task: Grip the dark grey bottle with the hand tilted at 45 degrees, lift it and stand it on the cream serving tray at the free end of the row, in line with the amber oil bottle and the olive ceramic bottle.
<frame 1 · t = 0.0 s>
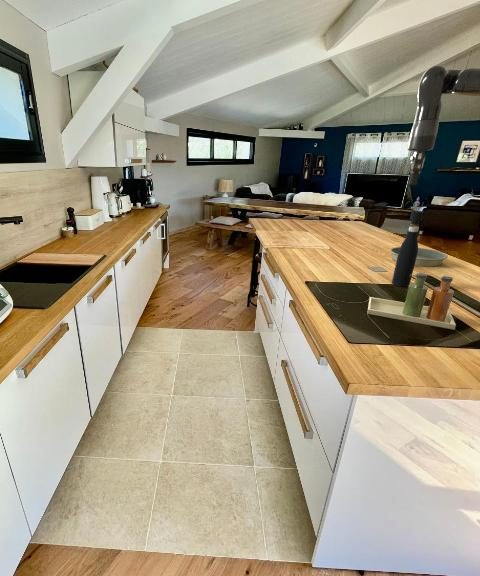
hand: (412, 184, 114), 40 cm above the table, tool pointing down, fingers open, 8 cm apart
cake pan: (415, 261, 163), on the table
amber oil bottle: (435, 318, 101), resting on tray
tray: (407, 315, 104), on the table
olive bottle: (411, 314, 104), resting on tray
dark grey bottle: (400, 284, 131), on the table
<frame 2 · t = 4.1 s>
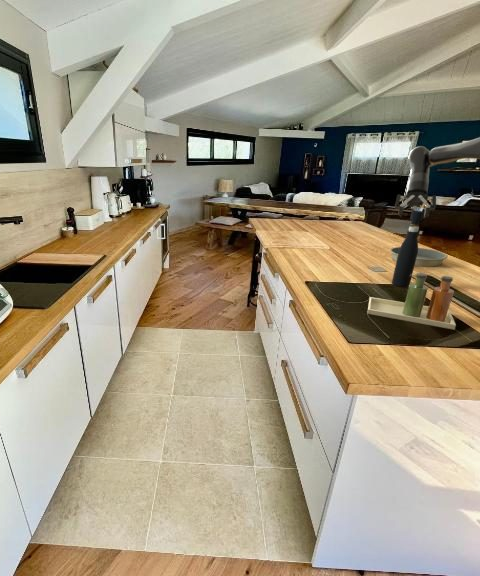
hand: (413, 216, 131), 27 cm above the table, tool tilted 45°, fingers open, 8 cm apart
nothing on the table moved.
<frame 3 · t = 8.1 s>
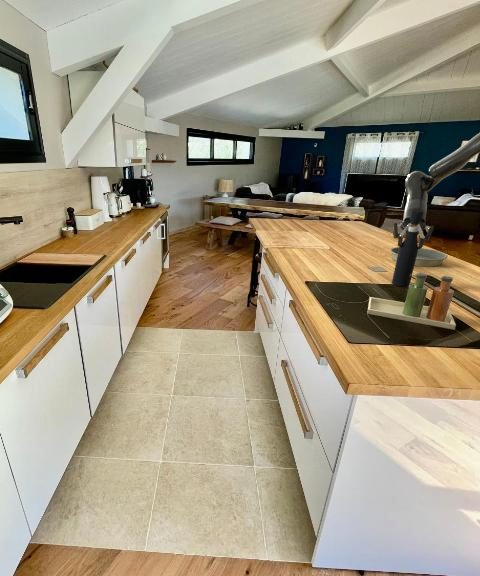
hand: (409, 247, 124), 16 cm above the table, tool tilted 45°, fingers closed on dark grey bottle, 5 cm apart
dark grey bottle: (400, 284, 131), on the table, touching gripper
everything else where it was.
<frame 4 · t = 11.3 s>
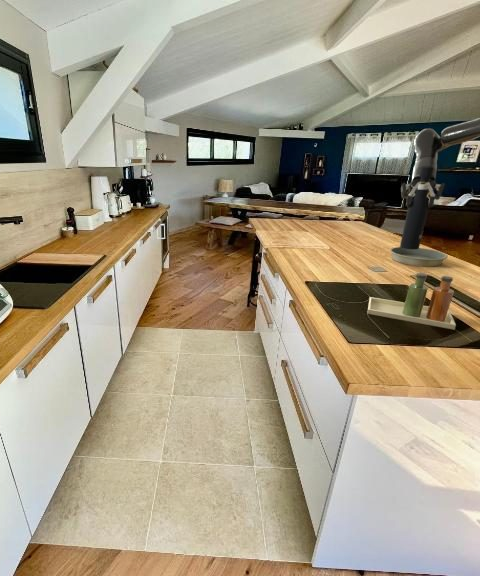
hand: (419, 206, 118), 32 cm above the table, tool tilted 45°, fingers closed on dark grey bottle, 5 cm apart
dark grey bottle: (409, 248, 125), point 16 cm above the table, touching gripper
everything else where it was.
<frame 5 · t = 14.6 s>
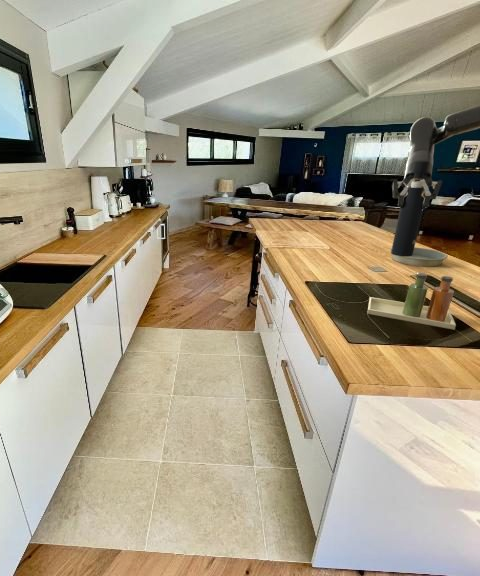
hand: (412, 207, 102), 34 cm above the table, tool tilted 45°, fingers closed on dark grey bottle, 5 cm apart
dark grey bottle: (401, 254, 109), point 17 cm above the table, touching gripper
everything else where it was.
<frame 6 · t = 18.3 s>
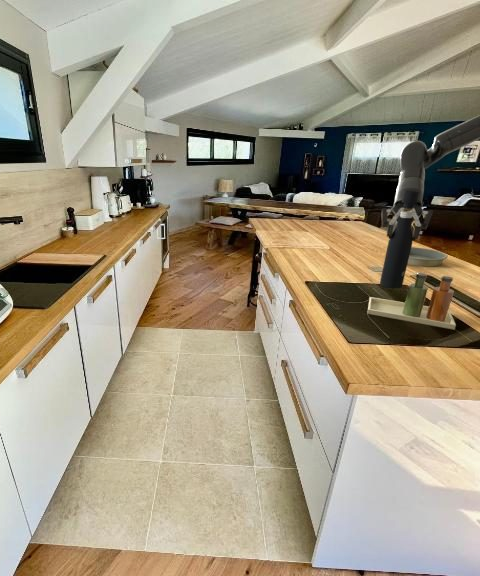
hand: (402, 237, 97), 26 cm above the table, tool tilted 45°, fingers closed on dark grey bottle, 5 cm apart
dark grey bottle: (390, 285, 104), point 9 cm above the table, touching gripper
everything else where it was.
when the fingers open (17 cm above the table, at t = 21.2 s): dark grey bottle stays where it is, resting on tray.
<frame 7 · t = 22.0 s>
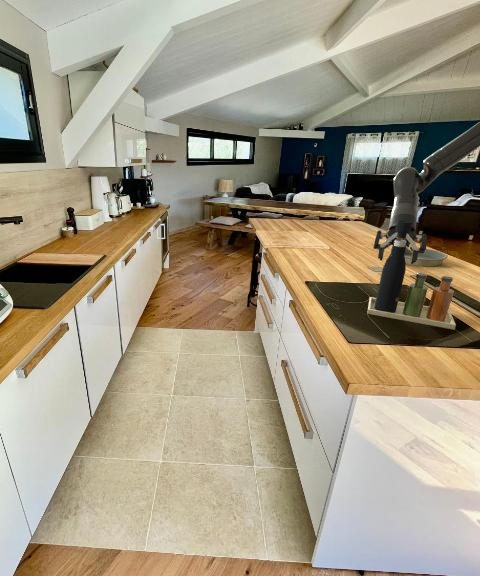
hand: (396, 260, 100), 18 cm above the table, tool tilted 45°, fingers open, 8 cm apart
dark grey bottle: (384, 309, 107), resting on tray
everything else where it was.
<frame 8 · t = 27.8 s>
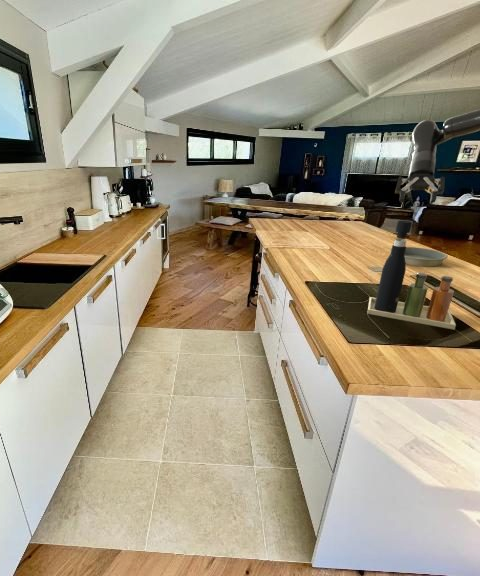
hand: (417, 201, 110), 35 cm above the table, tool tilted 45°, fingers open, 8 cm apart
nothing on the table moved.
at the end: dark grey bottle 0.3 cm from the target spot in the tray, point 0.3 cm above the tray's base; dark grey bottle tilted 0°; the gripper is holding nothing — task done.
